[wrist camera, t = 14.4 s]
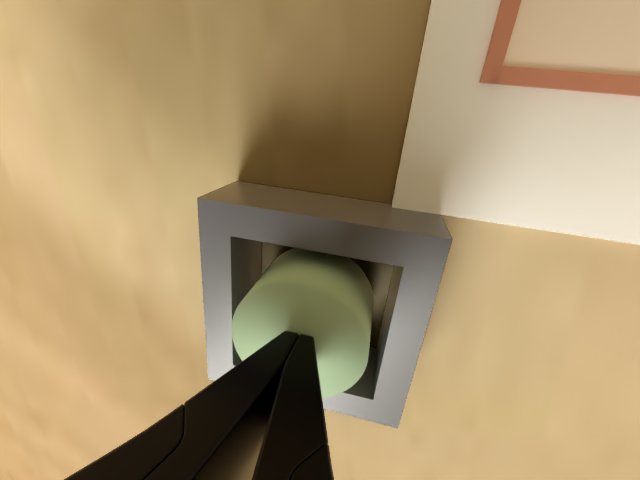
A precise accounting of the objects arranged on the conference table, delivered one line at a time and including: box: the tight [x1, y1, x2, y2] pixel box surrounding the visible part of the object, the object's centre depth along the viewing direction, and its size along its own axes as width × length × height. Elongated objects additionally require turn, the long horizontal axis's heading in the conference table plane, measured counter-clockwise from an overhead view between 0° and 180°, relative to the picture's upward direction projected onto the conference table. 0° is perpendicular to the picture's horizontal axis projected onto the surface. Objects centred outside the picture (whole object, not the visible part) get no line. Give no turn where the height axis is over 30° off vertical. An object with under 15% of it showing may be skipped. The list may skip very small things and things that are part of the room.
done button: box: [232, 248, 374, 398], centre depth 10 cm, size 4×4×2 cm
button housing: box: [197, 181, 452, 428], centre depth 11 cm, size 7×7×2 cm
